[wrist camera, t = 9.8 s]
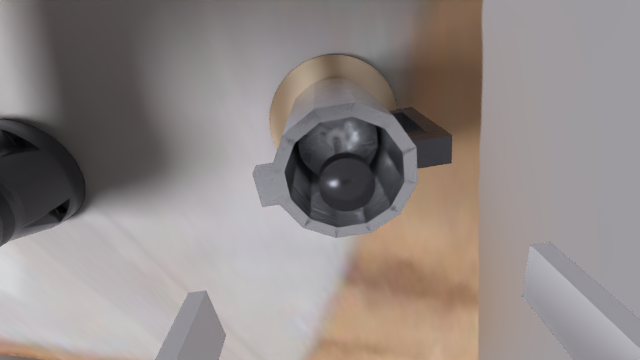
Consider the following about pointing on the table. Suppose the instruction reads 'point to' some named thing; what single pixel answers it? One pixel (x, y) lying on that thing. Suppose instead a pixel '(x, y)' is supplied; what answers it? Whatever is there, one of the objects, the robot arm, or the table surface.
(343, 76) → the trivet
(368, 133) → the plunger
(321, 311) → the table surface
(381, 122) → the carafe
